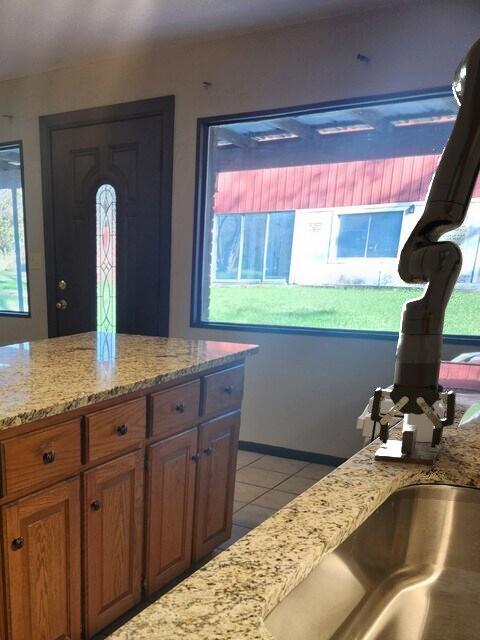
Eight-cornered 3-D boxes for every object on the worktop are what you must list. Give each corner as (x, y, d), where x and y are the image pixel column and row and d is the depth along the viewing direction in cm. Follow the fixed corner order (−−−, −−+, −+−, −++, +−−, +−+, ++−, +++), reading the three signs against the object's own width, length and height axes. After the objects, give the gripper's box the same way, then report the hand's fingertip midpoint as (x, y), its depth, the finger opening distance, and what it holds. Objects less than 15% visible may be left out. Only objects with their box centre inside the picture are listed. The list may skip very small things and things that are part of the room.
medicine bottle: (441, 442, 145) (448, 386, 141) (404, 441, 147) (410, 386, 143) (437, 435, 151) (444, 380, 147) (402, 434, 153) (408, 380, 149)
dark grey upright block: (405, 445, 133) (407, 423, 132) (415, 445, 132) (417, 424, 131) (400, 452, 129) (403, 430, 127) (411, 453, 128) (413, 431, 126)
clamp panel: (439, 459, 134) (441, 443, 133) (432, 475, 124) (434, 459, 123) (383, 454, 139) (385, 439, 138) (372, 470, 129) (374, 453, 128)
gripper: (463, 356, 124) (452, 443, 130) (380, 355, 131) (372, 437, 137) (460, 362, 118) (448, 453, 124) (373, 360, 125) (365, 446, 131)
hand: (408, 444), depth 130 cm, fingers open, 8 cm apart
